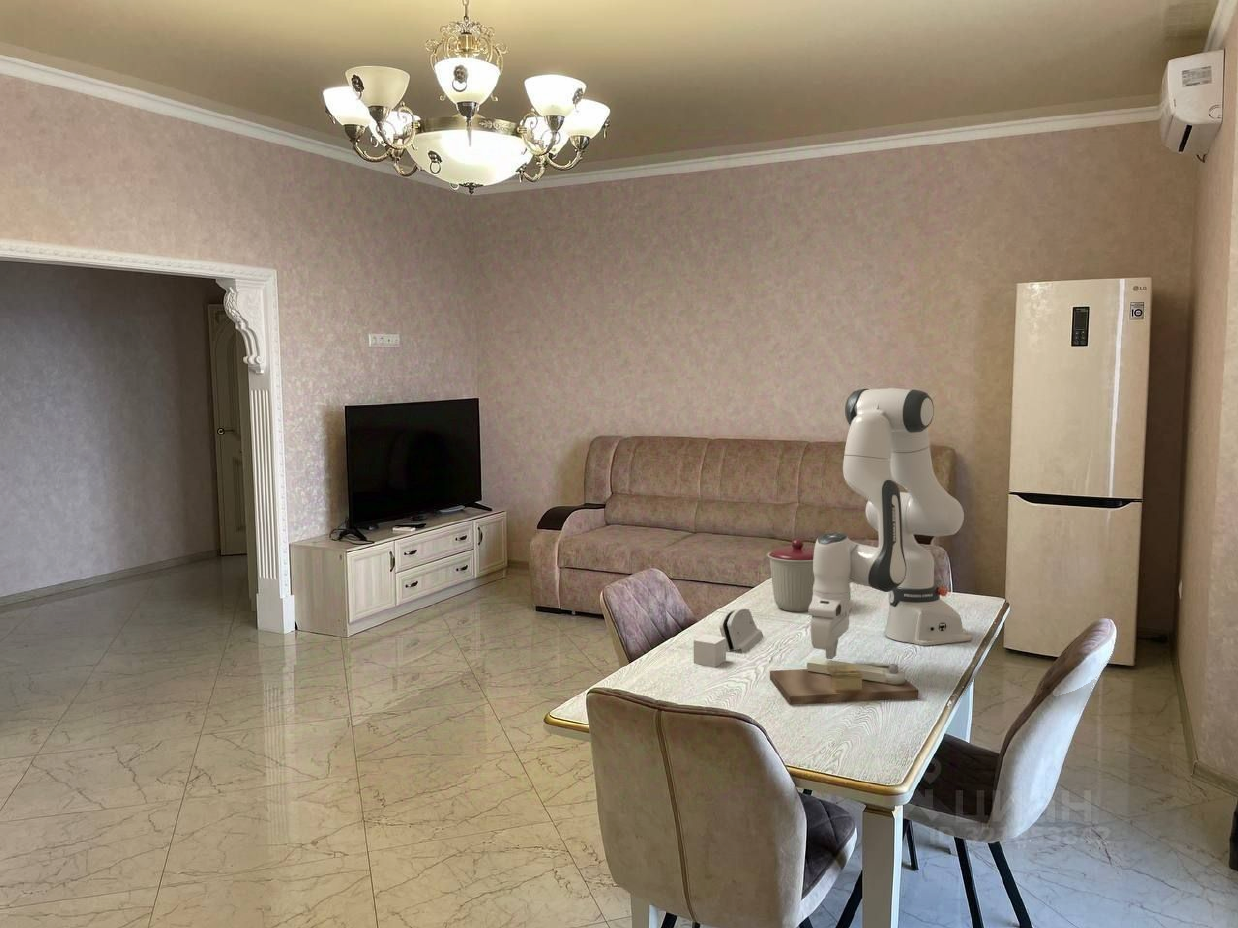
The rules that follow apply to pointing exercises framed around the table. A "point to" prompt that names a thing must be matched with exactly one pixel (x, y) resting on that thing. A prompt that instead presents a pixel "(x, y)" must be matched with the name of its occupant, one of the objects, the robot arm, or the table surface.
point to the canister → (792, 576)
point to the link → (862, 671)
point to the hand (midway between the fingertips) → (831, 657)
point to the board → (818, 690)
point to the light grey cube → (709, 650)
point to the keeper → (845, 678)
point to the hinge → (739, 630)
